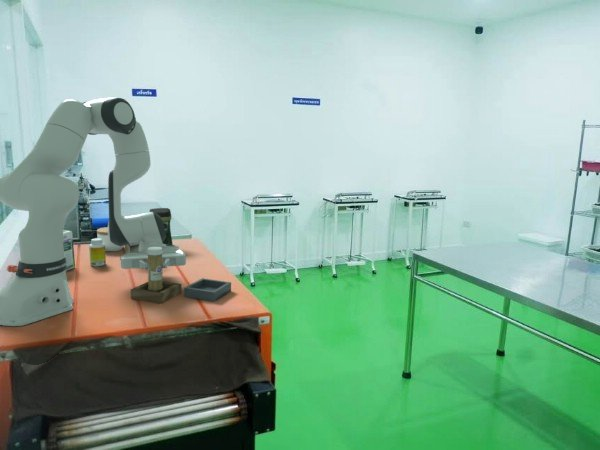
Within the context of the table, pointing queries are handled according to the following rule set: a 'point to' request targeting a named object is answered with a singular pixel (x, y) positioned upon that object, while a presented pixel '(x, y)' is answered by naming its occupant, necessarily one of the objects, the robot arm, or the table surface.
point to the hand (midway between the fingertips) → (155, 266)
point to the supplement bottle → (97, 252)
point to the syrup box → (68, 249)
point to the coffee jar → (165, 222)
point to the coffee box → (132, 247)
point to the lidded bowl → (107, 240)
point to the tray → (207, 289)
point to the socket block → (153, 296)
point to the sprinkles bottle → (155, 268)
